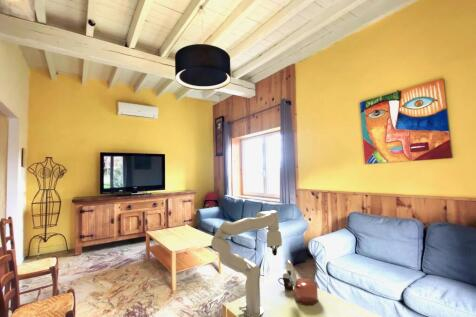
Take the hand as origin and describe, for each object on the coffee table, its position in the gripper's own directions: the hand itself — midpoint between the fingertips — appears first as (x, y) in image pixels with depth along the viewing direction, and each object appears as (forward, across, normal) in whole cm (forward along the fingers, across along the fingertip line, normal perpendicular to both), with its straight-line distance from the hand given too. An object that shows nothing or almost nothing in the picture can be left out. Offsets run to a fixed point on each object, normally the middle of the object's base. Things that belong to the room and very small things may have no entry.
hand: (274, 254), depth 168 cm
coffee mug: (+34, +14, +17) cm, 40 cm away
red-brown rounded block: (+33, +22, 0) cm, 40 cm away
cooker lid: (+14, +12, 0) cm, 18 cm away
